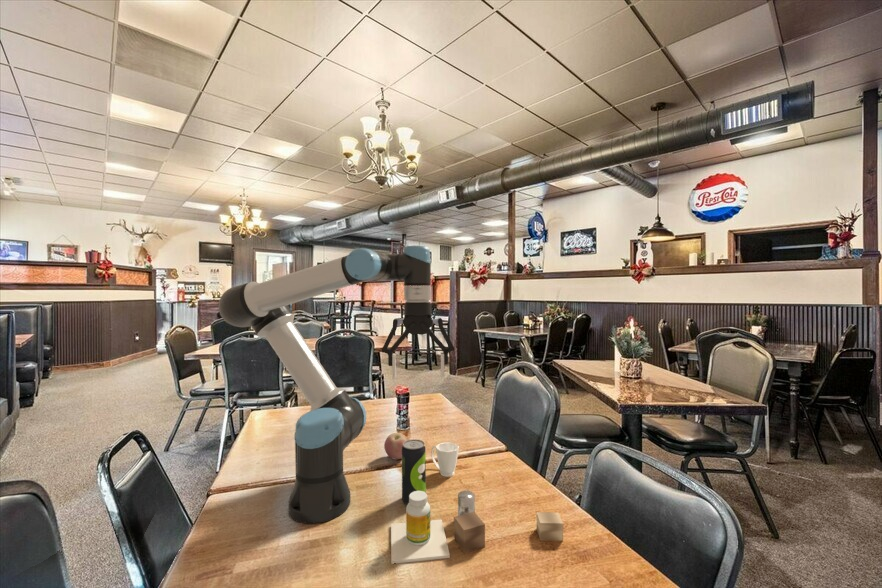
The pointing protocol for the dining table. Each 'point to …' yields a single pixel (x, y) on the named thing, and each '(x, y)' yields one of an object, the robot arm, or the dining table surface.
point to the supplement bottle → (418, 519)
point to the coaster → (412, 553)
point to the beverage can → (413, 468)
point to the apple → (395, 445)
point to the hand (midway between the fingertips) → (418, 376)
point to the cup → (446, 458)
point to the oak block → (549, 526)
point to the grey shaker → (466, 502)
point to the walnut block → (469, 532)
